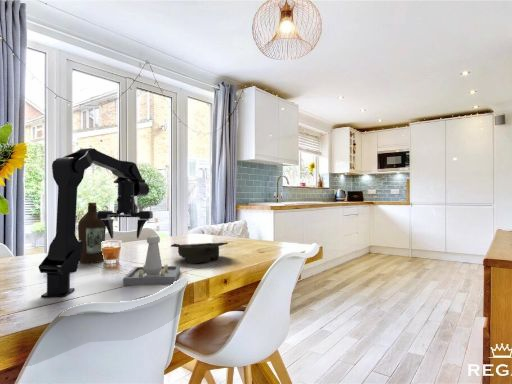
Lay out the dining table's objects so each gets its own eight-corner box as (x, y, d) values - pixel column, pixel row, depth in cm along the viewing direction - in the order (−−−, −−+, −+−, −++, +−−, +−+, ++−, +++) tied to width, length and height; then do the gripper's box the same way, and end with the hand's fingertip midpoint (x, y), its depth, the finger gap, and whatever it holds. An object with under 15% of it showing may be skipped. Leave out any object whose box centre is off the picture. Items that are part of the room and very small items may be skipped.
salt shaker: (141, 273, 112) (141, 235, 112) (156, 271, 116) (157, 234, 116) (149, 276, 108) (149, 237, 108) (165, 273, 112) (165, 236, 112)
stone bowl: (198, 268, 126) (197, 244, 126) (158, 264, 141) (157, 243, 141) (239, 257, 146) (238, 236, 146) (201, 255, 161) (200, 236, 161)
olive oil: (74, 261, 139) (74, 202, 139) (100, 257, 146) (100, 202, 147) (82, 265, 131) (82, 203, 132) (109, 261, 139) (109, 202, 139)
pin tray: (174, 283, 105) (174, 272, 105) (123, 285, 103) (123, 273, 103) (179, 271, 121) (179, 261, 121) (135, 272, 119) (135, 262, 119)
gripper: (156, 196, 130) (155, 235, 130) (107, 196, 128) (106, 235, 128) (149, 196, 119) (149, 239, 119) (96, 195, 117) (95, 239, 117)
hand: (125, 238), depth 121 cm, fingers open, 9 cm apart
